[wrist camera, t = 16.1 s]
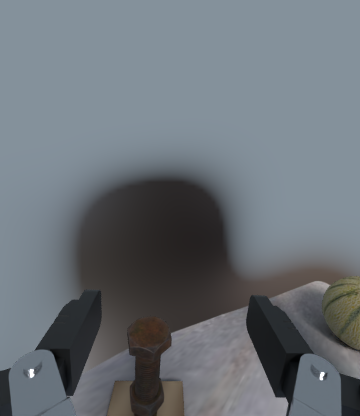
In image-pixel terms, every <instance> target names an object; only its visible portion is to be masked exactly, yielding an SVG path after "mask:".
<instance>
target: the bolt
mask: <svg viewBox="0 0 360 416" xmlns="http://www.w3.org/2000/svg"><path fill="white" fill-rule="evenodd" d="M127 335H128V344H129V353H130V355H132V356H136V363H135V380H134V381H133V382H132V384H131V385H130V403H131V411H132V412H133V413H134V416H157V410H158V409H159V408H160V407H161V405H162V404H163V402H164V391H163V386H162V382H161V379H160V378H159V374H160V357H161V354H162V353H163V352H165V351H166V350H167V349H168V348H169V347H170V346H171V341H172V338H171V333H170V330H169V327H168V324H167V323H166V321H164V320H162V319H160V318H158V317H154V316H149V317H143V318H140V319H138V320H136V321H135V322H133V323H132V324H131V325H130V326H129V327H128V333H127Z"/></svg>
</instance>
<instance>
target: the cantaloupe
mask: <svg viewBox="0 0 360 416" xmlns="http://www.w3.org/2000/svg"><path fill="white" fill-rule="evenodd" d="M322 312H323V315H324V318H325V320H326V323H327V325H328V326H329V328H330V329H331V331H332V332H333V333H334V334H335V335H336V336H337V337H338V338H339V339H340V340H341V341H343V342H344V343H346V344H347V345H349V346H350V347H352V348H354V349H357V350H360V277H358V276H354V277H352V276H350V277H346V278H343V279H341V280H338V281H336V282H334V283H333V284H332V285H331V286H329V287H328V289H327V290H326V292H325V294H324V297H323V300H322Z"/></svg>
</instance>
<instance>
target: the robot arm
mask: <svg viewBox="0 0 360 416" xmlns="http://www.w3.org/2000/svg"><path fill="white" fill-rule="evenodd" d="M101 315H102V311H101V291H100V290H84V292H83V293H82V295H81V297H80V299H79V300H72V301H70V302H69V303H68V304H66V305H65V306H64V307H63V309H62V310H61V311H60V313H59V315H58V317H57V318H56V319H55V321H54V323H53V324H52V325H51V327H50V328H49V330H48V331H47V333H46V334H45V336H44V337H43V339H42V340H41V342H40V343H39V345H38V346H37V348H36V349H35V351H32V352H30V353H28V354H26V355H25V356H23V357H21V358H20V359H19V360H18V361H16V362H15V364H14V365H13V366H12V368H10V369H7V370H3V371H0V416H76V414H75V411H74V408H73V404H72V402H71V399H70V397H67V396H73V395H74V392H75V389H76V387H77V384H78V382H79V379H80V377H81V374H82V371H83V369H84V366H85V363H86V361H87V359H88V356H89V353H90V351H91V348H92V346H93V343H94V340H95V338H96V335H97V333H98V330H99V327H100V324H101V317H102V316H101ZM246 325H247V330H248V333H249V336H250V338H251V340H252V343H253V345H254V347H255V350H256V352H257V354H258V357H259V359H260V361H261V364H262V366H263V368H264V371H265V373H266V375H267V378H268V380H269V382H270V385H271V387H272V389H273V392H274V394H275V396H276V397H286V399H287V401H288V403H289V404H288V408H287V412H286V416H360V379H356V378H353V377H350V376H346V375H343V374H340V373H338V371H337V370H336V368H335V367H334V366H333V365H332V364H331V363H330V362H328V361H327V360H325V359H324V358H322V357H320V356H318V355H315V354H314V353H313V352H312V350H311V349H310V347H309V346H308V345H307V343H306V342H305V340H304V339H303V338H302V336H301V335H300V333H299V332H298V330H296V328H295V326H294V325H293V323H291V320H290V319H289V318H288V316H287V315H286V313H285V312H283V311H282V310H281V309H280V308H278V307H277V306H273V305H272V304H271V302H270V301H269V299H268V298H267V296H257V295H255V296H254V295H252V296H251V297H250V302H249V307H248V313H247V319H246Z"/></svg>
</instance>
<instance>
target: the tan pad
mask: <svg viewBox="0 0 360 416" xmlns="http://www.w3.org/2000/svg"><path fill="white" fill-rule="evenodd" d="M132 382H133V381H115V383H114V388H113V392H112V396H111V400H110V405H109V409H108V413H107V416H134V413H133V412H132V411H131V403H130V385H131V384H132ZM161 382H162V386H163V391H164V402H163V404H162V405H161V407H160V408H159V409H158V410H157V416H184V401H183V383H182V381H161Z"/></svg>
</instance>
